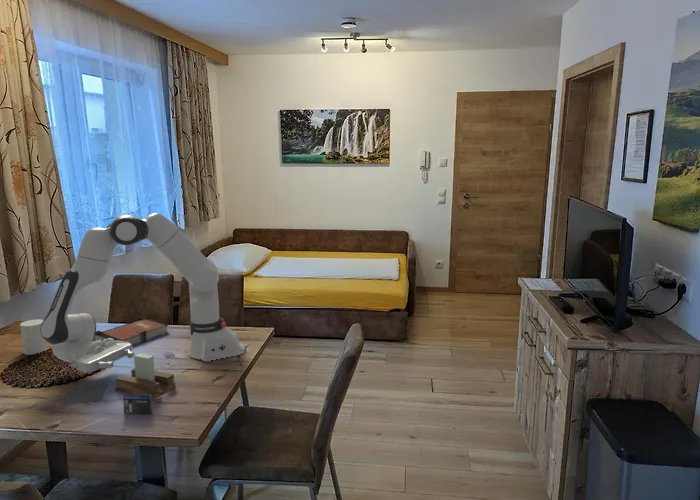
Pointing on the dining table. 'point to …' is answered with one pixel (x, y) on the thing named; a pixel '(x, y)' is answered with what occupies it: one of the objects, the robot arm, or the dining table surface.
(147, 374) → the tall sage green pillar
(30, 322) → the cup
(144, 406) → the mini dv tape
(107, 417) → the dining table surface
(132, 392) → the rack
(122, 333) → the book
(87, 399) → the mat
